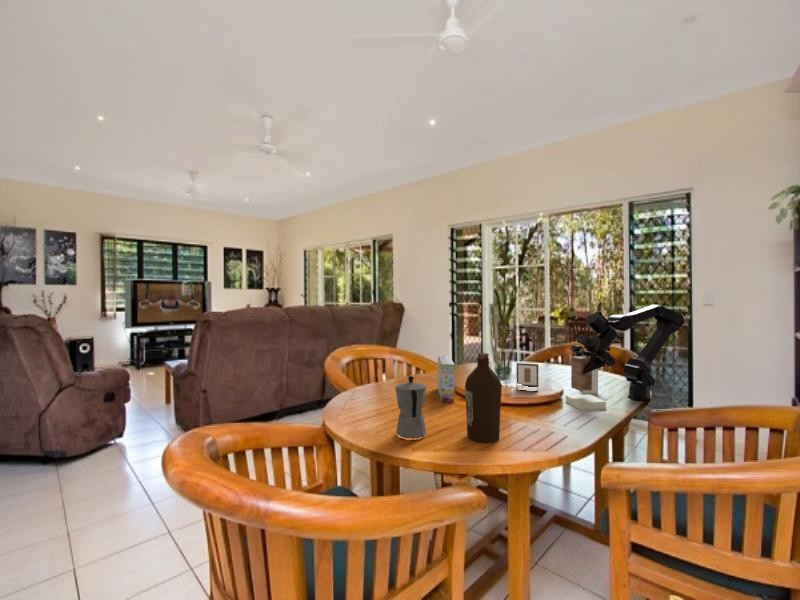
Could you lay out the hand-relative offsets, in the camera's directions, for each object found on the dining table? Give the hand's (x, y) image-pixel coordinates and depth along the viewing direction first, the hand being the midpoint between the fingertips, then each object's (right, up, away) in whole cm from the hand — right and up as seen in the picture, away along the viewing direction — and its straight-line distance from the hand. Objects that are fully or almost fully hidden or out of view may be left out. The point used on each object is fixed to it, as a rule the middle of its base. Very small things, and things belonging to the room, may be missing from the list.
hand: (578, 371), depth 147 cm
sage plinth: (+2, -13, -1) cm, 13 cm away
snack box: (-49, -13, +14) cm, 52 cm away
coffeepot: (-64, -14, -31) cm, 72 cm away
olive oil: (-43, -14, -31) cm, 55 cm away
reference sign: (-12, -12, +22) cm, 28 cm away
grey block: (+12, -12, +17) cm, 24 cm away
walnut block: (+1, -7, +1) cm, 7 cm away
